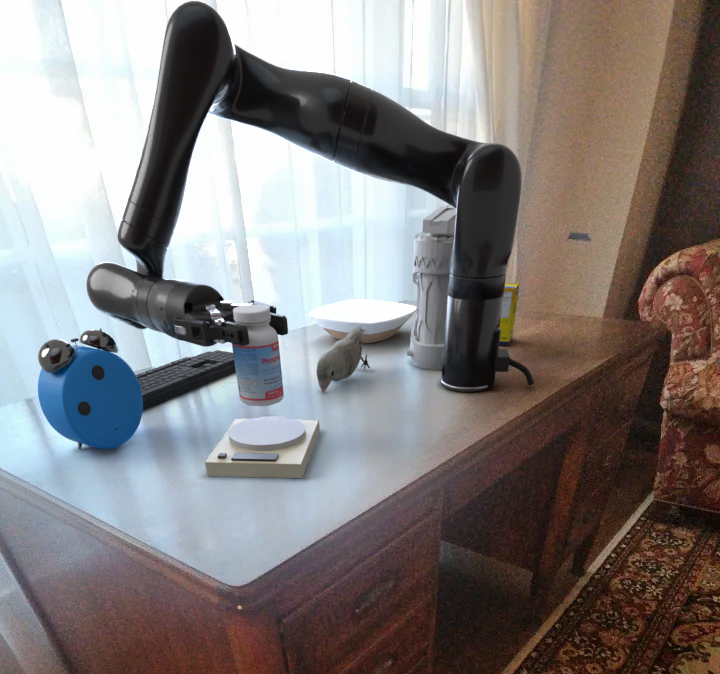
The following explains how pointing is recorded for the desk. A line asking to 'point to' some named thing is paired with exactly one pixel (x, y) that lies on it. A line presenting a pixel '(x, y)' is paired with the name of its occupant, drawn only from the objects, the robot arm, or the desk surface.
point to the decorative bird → (341, 359)
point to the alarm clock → (89, 391)
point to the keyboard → (184, 376)
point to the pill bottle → (258, 358)
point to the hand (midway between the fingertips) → (266, 331)
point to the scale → (264, 448)
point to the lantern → (432, 287)
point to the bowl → (363, 318)
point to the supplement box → (508, 312)
